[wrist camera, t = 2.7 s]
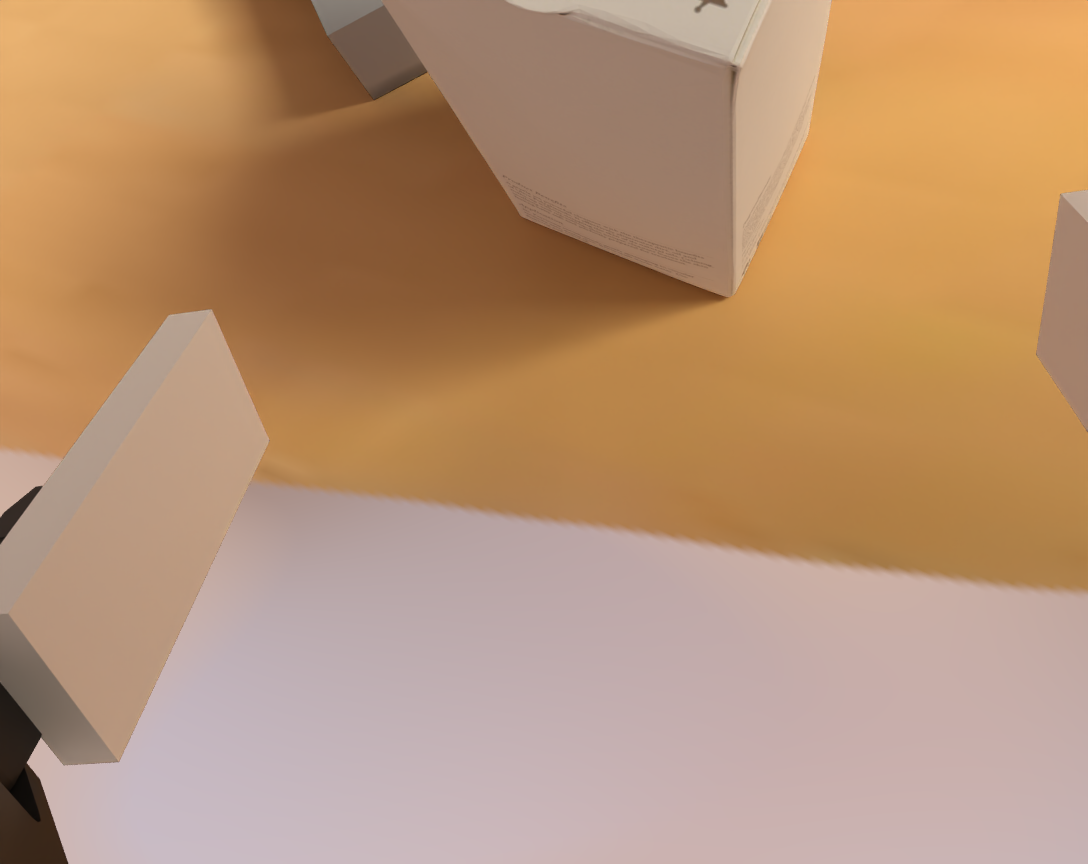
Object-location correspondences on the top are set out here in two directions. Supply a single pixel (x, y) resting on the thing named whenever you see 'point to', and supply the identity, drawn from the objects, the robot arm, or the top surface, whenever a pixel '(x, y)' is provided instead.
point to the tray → (370, 43)
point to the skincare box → (633, 115)
